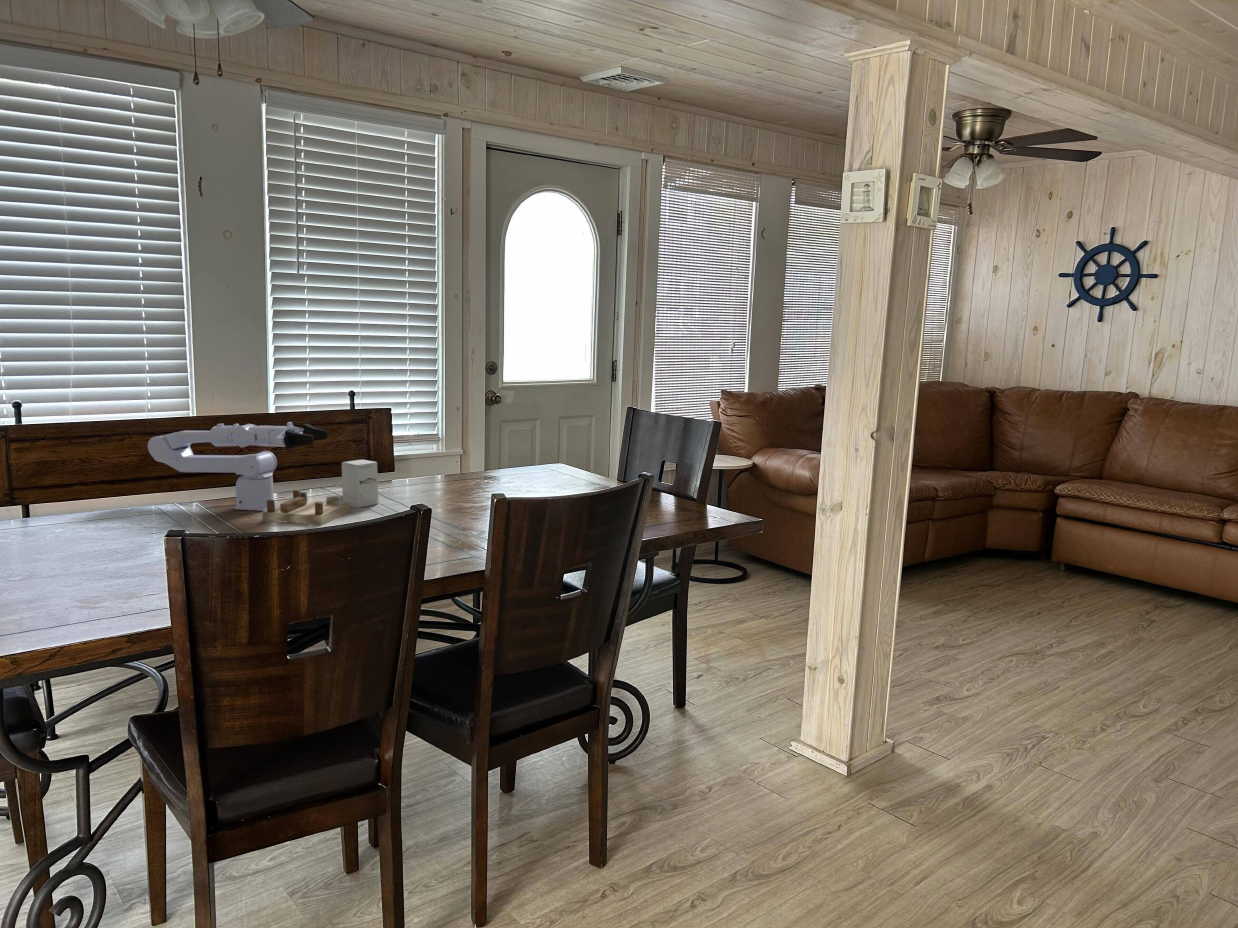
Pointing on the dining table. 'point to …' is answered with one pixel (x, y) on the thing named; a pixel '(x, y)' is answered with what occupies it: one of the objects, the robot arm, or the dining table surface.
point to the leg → (294, 503)
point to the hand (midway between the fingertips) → (320, 437)
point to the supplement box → (360, 483)
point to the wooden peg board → (308, 511)
